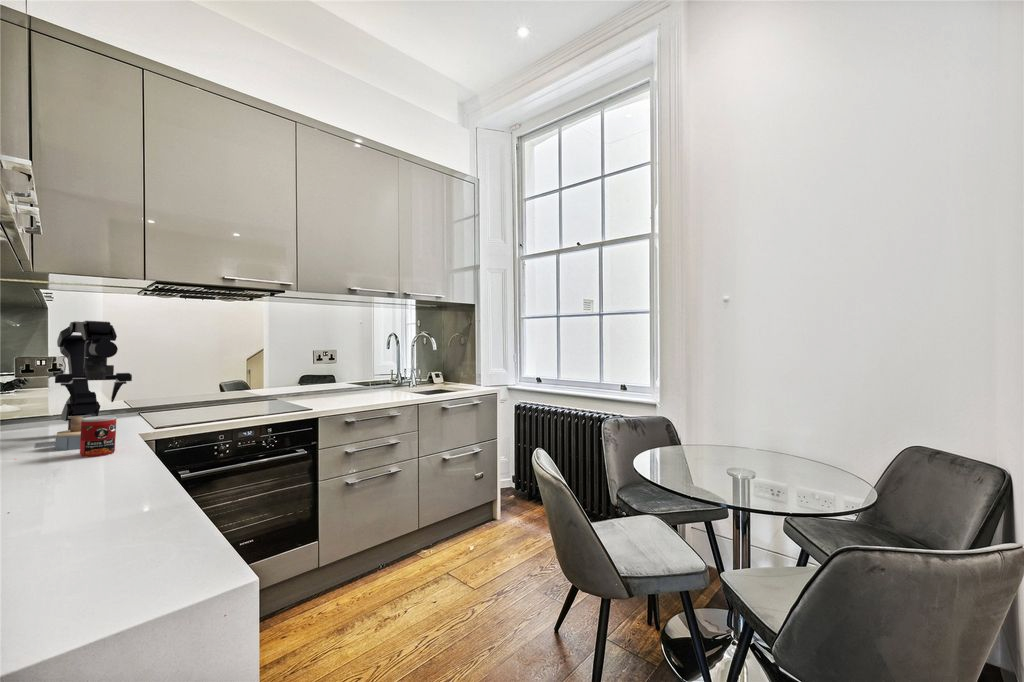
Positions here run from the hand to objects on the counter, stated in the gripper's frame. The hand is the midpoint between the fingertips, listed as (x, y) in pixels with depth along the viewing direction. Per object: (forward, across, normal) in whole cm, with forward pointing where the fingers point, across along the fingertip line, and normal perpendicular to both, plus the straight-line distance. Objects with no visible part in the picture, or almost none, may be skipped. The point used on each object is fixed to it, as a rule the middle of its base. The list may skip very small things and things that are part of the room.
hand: (93, 403), depth 147 cm
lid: (+8, -4, -12) cm, 15 cm away
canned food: (+13, 0, -26) cm, 29 cm away
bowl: (+13, -4, -12) cm, 18 cm away
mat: (+13, -9, -1) cm, 16 cm away
